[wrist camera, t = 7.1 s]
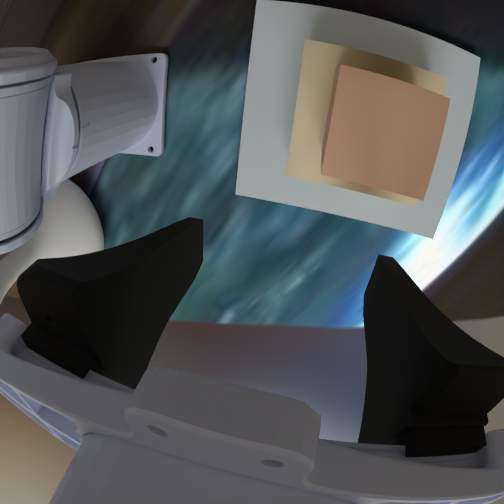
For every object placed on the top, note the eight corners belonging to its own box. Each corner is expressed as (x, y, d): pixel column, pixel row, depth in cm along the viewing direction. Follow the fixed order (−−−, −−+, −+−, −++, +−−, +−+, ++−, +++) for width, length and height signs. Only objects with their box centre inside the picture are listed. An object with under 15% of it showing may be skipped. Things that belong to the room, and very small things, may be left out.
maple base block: (290, 162, 20) (285, 176, 17) (307, 46, 15) (304, 39, 13) (404, 189, 19) (415, 206, 16) (430, 78, 14) (447, 78, 12)
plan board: (238, 190, 22) (235, 194, 22) (259, 2, 15) (256, -1, 14) (429, 233, 20) (432, 238, 20) (475, 58, 13) (480, 57, 12)
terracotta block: (321, 148, 16) (320, 174, 12) (334, 70, 13) (340, 64, 9) (398, 168, 15) (423, 201, 11) (415, 92, 13) (450, 98, 9)
